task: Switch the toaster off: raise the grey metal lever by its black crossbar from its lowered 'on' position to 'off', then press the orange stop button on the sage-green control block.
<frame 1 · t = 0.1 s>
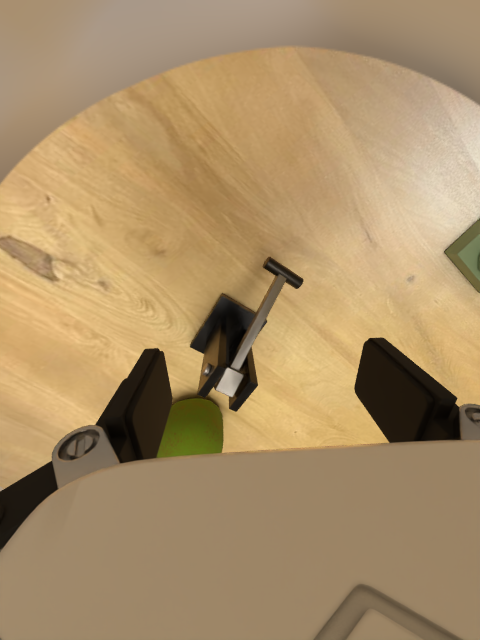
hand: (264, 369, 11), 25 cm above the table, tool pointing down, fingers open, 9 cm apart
apple: (195, 412, 45), on the table
lever: (254, 327, 28), point 9 cm above the table, hinge at -25.0°
switch bracket: (227, 331, 38), on the table
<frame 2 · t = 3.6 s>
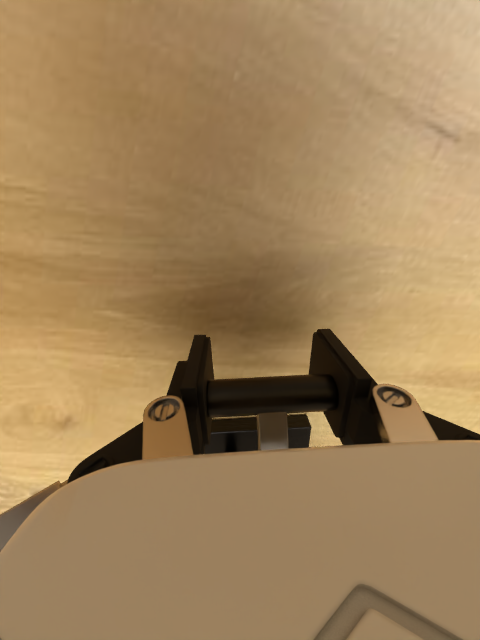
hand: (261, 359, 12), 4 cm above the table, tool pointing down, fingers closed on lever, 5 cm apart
lever: (278, 578, 10), point 9 cm above the table, hinge at -25.0°, touching gripper
switch bracket: (255, 460, 20), on the table
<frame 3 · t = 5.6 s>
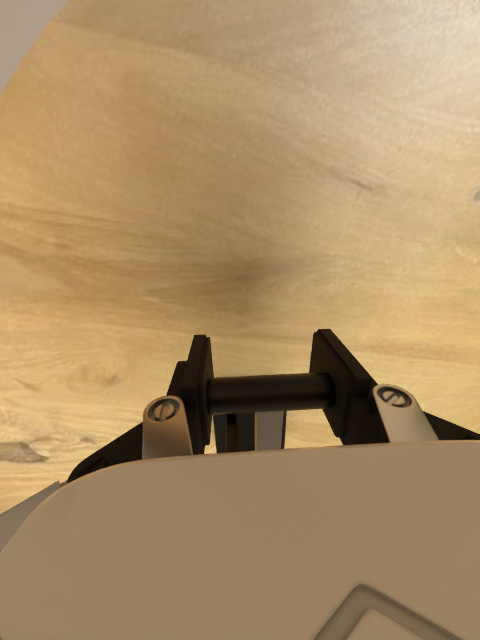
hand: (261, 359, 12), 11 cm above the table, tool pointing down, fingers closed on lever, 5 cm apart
lever: (265, 491, 13), point 12 cm above the table, hinge at 3.6°, touching gripper
switch bracket: (249, 412, 27), on the table
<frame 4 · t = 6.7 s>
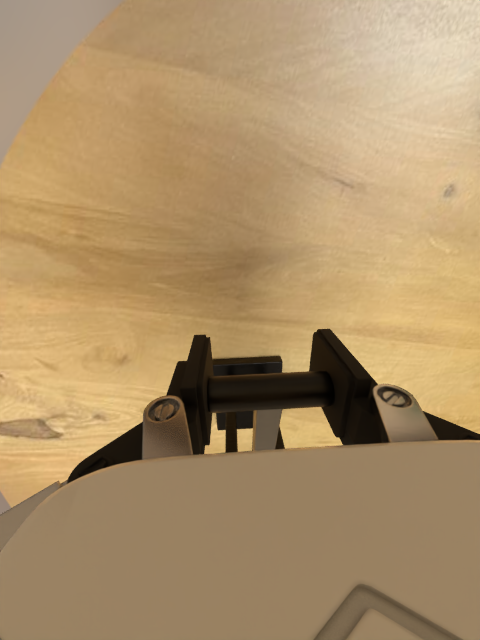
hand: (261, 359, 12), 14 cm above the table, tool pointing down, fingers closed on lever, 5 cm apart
lever: (261, 460, 15), point 14 cm above the table, hinge at 16.0°, touching gripper
switch bracket: (247, 391, 30), on the table
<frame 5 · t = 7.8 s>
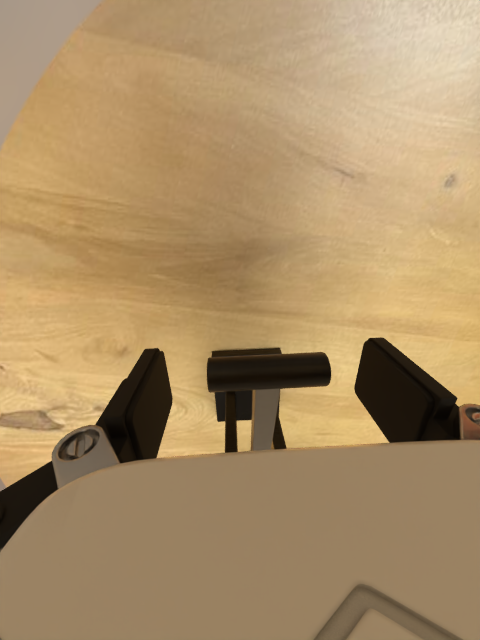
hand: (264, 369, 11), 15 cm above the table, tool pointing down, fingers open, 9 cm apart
lever: (260, 445, 15), point 14 cm above the table, hinge at 15.3°
switch bracket: (246, 383, 30), on the table
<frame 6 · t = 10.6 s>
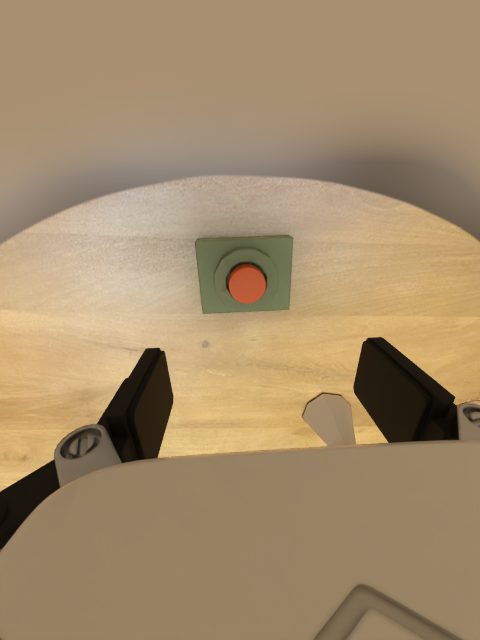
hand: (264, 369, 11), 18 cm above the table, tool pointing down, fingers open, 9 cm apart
flask: (325, 409, 38), on the table
stop button: (246, 283, 24), point 4 cm above the table, slide at 0.1 cm
button block: (244, 273, 28), on the table
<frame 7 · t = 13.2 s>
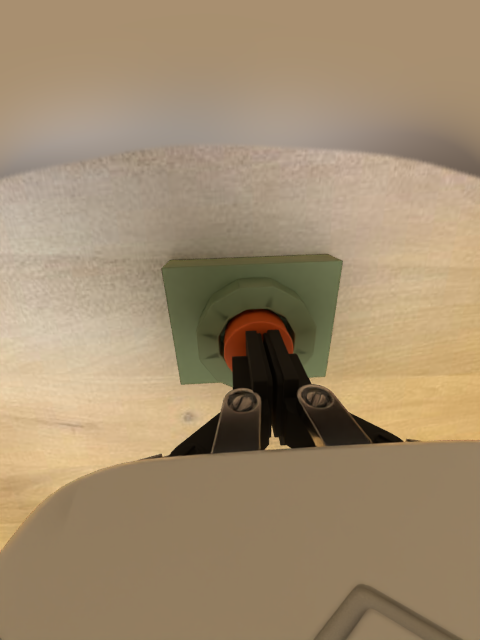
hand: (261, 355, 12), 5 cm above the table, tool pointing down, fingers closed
stop button: (257, 344, 13), point 4 cm above the table, slide at -0.4 cm, touching gripper
button block: (250, 315, 17), on the table
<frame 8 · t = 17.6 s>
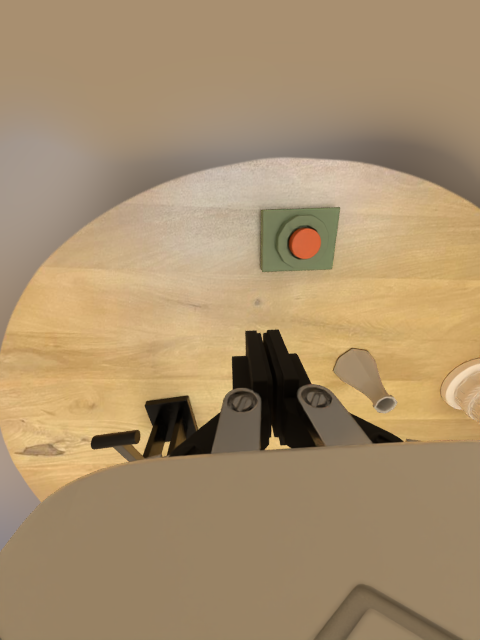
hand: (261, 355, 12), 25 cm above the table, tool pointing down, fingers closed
decorative container: (469, 382, 47), on the table
flask: (352, 364, 44), on the table
lever: (140, 463, 32), point 14 cm above the table, hinge at 15.3°
stop button: (304, 243, 30), point 4 cm above the table, slide at 0.1 cm
button block: (295, 239, 34), on the table
switch bracket: (173, 417, 47), on the table
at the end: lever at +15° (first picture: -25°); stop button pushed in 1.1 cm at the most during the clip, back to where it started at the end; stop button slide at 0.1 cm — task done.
